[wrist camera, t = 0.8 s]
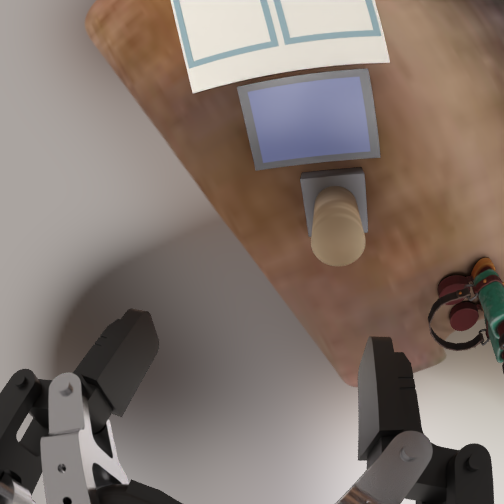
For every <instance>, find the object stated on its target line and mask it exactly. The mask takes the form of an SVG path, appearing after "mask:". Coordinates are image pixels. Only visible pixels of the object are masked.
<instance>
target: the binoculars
mask: <svg viewBox="0 0 504 504" xmlns="http://www.w3.org/2000/svg"><path fill="white" fill-rule="evenodd" d="M469 281H472V282H473V284H474V285H473V284H469ZM470 286H472V287H473V291H474V294H476V295H475V296H474V297H472V298H470V297H471V294H470ZM438 293H439V299H438V300H437V301H436V302H435V303H434V304H433V306H432V308H431V311H430V313H429V316H428V321H429V328H430V334H431V335H432V337H433V338H434V340H435V341H436V342H437V343H438V344H439V345H441V346H442V347H444V348H446V349H449V350H455V351H461V350H468V349H470V348H473V347H476V346H477V345H478V344H480V343H481V344H482V345H485V344H486V343H487V342H488V341H489V339H490V340H491V343H492V347H493V350H494V353H495V356H496V359H497V362H500V363H502V362H504V282H502V281H501V279H500V278H499V276H498V274H497V273H496V272H495V267H494V265H493V263H492V261H491V260H490V259H489V258H482V259H480V260H479V261H478V262H477V263H476V265H475V266H474V268H473V271H472V274H471V276H468V277H464V276H460V275H454V276H450V277H447V278H445V279H444V280H442V281H441V282H440V284H439V286H438ZM476 297H478V299H479V301H480V304H477V305H475V304H473V303H470V302H462V303H459V302H461V301H463V300H464V299H465V298H468V300H469V301H472V300H473V299H475V298H476ZM457 303H459V304H457ZM444 304H446V305H454V304H457V305H455V306H454V307H453V308H452V310H451V312H450V324H451V326H452V328H453V329H455V330H457V331H464V330H467V329H469V328H471V327H472V326H473V325H474V324H475V323H476V322H477V320H478V317H479V315H478V310H479V309H481V310H482V311H484V317H485V324H486V329H482V330H480V331H479V335H477V336H476V337H475V338H474V339H473V340H471V341H468V342H466V343H457V344H455V343H450V342H446V341H444V340H443V339H441V338H439V337H438V336H437V335H436V334H435V333H434V331H433V330H432V328H431V327H430V323H431V321H432V319H433V316H434V314H435V312H436V311H437V310H438V309H439V308H440V307H441V306H442V305H444ZM482 331H486V336H487V338H488V339H487V341H486V342H485V343H483V342H484V339H483V334H482V333H480V332H482ZM502 367H503V373H504V363H503V365H502Z"/></svg>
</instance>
